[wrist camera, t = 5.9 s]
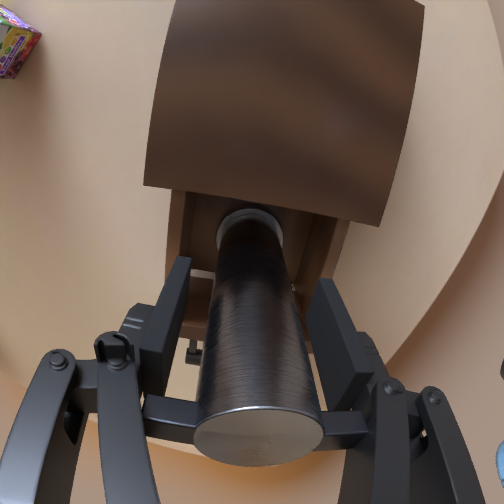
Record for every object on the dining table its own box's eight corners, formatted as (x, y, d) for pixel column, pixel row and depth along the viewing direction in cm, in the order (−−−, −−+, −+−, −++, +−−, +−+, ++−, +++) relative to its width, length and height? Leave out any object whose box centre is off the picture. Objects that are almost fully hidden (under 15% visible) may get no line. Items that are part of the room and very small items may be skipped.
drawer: (286, 346, 28) (294, 396, 23) (168, 330, 27) (154, 379, 21) (341, 162, 21) (375, 181, 15) (186, 133, 20) (163, 140, 14)
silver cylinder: (303, 213, 21) (398, 398, 7) (288, 271, 23) (335, 469, 9) (206, 196, 21) (132, 378, 6) (198, 257, 23) (147, 457, 8)
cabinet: (338, 190, 23) (379, 227, 15) (176, 161, 21) (142, 185, 14) (371, 32, 17) (425, 5, 10) (209, -4, 16) (193, -54, 8)
